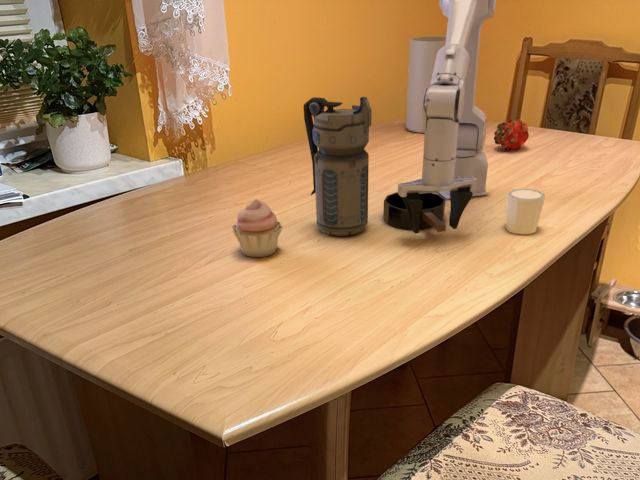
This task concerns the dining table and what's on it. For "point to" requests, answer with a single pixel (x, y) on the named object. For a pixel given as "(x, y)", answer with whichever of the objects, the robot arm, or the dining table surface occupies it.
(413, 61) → the cylinder vase
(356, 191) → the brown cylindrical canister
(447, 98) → the robot arm
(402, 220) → the skillet
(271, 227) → the cupcake
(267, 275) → the dining table surface
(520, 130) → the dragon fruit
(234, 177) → the dining table surface
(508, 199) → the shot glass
